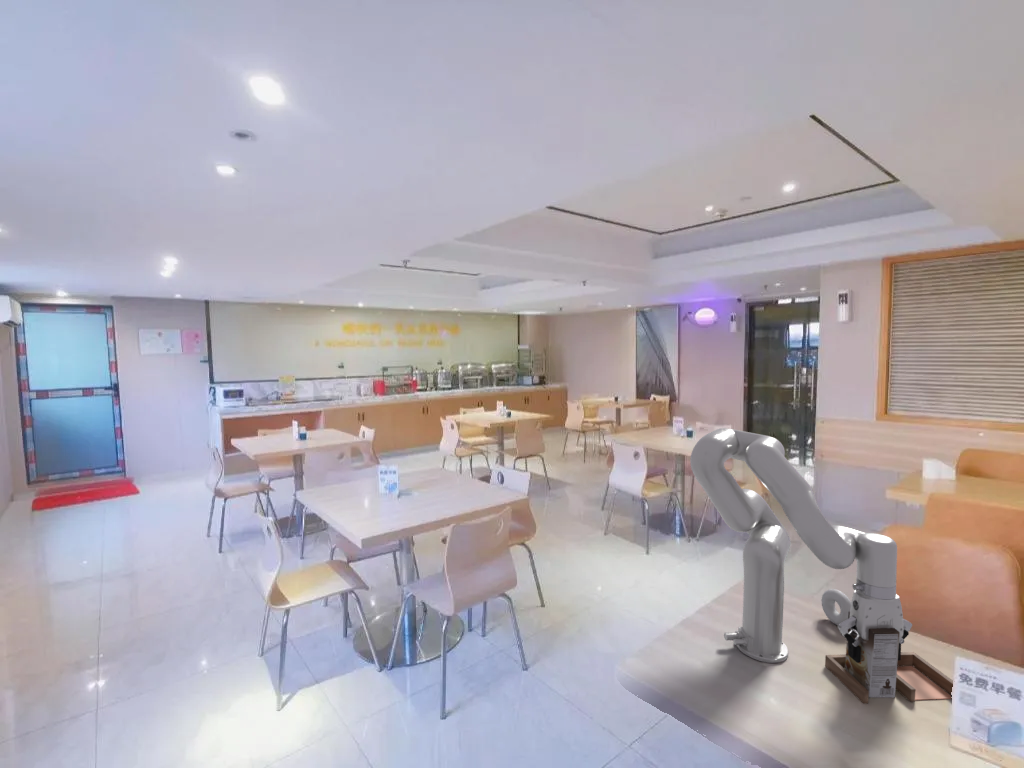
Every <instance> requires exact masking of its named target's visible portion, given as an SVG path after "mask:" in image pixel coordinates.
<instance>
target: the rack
mask: <svg viewBox="0 0 1024 768" xmlns="http://www.w3.org/2000/svg"><path fill="white" fill-rule="evenodd" d="M845 662H846V653H844V654H826V655H825V659H824V666H825V668H826V669H827V670H828V671H829V672H830V673H831V674H832V675H833V676H835V678H836V679H838V680H839V681H840V683H842V684H843V685H844V687H846V689H848V690H849V691H850V693H852V694H853V695H854V696H855V697H856V698H857V699H858V700H859V701H860V702H861V703H863V704H864V705H865V704H866V705H867V704H869V697H868V696H869V691H868V690H867V689H866V688H865V687H864V686H863V685H862V684H860V683H859V682H858V681H857V680H856V679H855V678H854V677H853V676H852V675H851V674H850V673H849V672H847V671H846V670H845ZM953 681H954V680H953V679H951V678H950V677H948V676H947V675H946V674H944V673H943V672H942V671H941V670H939V669H938V668H936V667H935V666H934V665H932V664H931V663H930V662H928V661H926V659H924V658H923V657H921V656H920V655H919V654H917V653H916V652H915V651H903V652H902V651H901V660H898V662H897V675H896V688H895V691H897V692H898V693H900V694H901V695H902V696H903V697H904V698H905V699H906V700H908V701H909V702H910V703H915V702H916V701H928V700H929V701H931V700H932V701H933V700H934V701H935V700H936V699H937V700H952V699H951V692H952V687H953Z"/></svg>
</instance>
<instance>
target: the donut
mask: <svg viewBox="0 0 1024 768" xmlns="http://www.w3.org/2000/svg"><path fill="white" fill-rule="evenodd" d="M821 596H822V597H821V600H820V601H821V606H822V611H823V613H824V615H825V616H826V618H828V620H829V621H830V622H831V623H833V624H835V625H837V626H838V624H840V623H842V622H843V621H845V620H847V619H848V612H849V611H850V607H851V601H852V600H851V599H850V598H849V597H848V595H847V594H845V592H843V591H841V590H839V589H837V588H828V589H827V590H825V591H824V592H823V594H822V595H821ZM835 603H837V604H838V607H839V609H840V612H839V611H838V610H837V607H836V604H835Z"/></svg>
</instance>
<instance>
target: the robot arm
mask: <svg viewBox="0 0 1024 768" xmlns="http://www.w3.org/2000/svg"><path fill="white" fill-rule="evenodd" d="M785 456H786V450H785V447H784V445H783V444H782V442H781V441H780V440H779V439H777V438H776V437H772V436H770V435H765V434H759V433H754V432H750V431H749V432H748V431H745V430H739V429H733V428H726V427H724V428H723V427H722V428H717V429H715V430H713V431H711V432H709V433H707V434H705V435H703V436H702V437H701V438H700V439H699V440H697V442H696V444H695V445H694V446H693V448H692V450H691V453H690V457H689V459H690V460H689V462H690V469H691V472H692V474H693V476H694V477H695V480H696V481H697V482H698V484H699V485H700V486H701V488H702V489H703V491H704V492H705V493H706V496H707V497H708V500H710V502H711V503H712V505H713V506H714V508H715V509H716V511H717V512H718V513H719V515H720V516H721V518H722V520H723V521H724V523H725V524H726V526H728V527H729V529H731V530H732V531H734V532H737V533H739V534H740V533H741V534H742V533H747V535H748V538H747V540H746V541H745V543H744V546H743V550H742V564H743V597H742V600H743V601H742V602H743V603H742V624H741V626H738V627H737V628H738V629H737V630H735V632H729V631H728V632H724V633H723V637H724V640H725V641H733V642H732V643H733V645H735V646H736V647H737V649H738V650H739V651H740V652H742V654H744V655H745V656H747V657H749V658H751V659H753V660H756V661H759V662H764V663H771V664H775V663H781V662H784V661H786V660H787V659H788V657H789V648H788V646H787V645H786V644H785V642H783V627H784V626H783V622H784V621H783V620H784V603H785V602H784V600H785V599H784V598H785V597H784V596H785V565H786V564H785V562H786V558H787V556H788V554H789V551H790V550H791V549H790V548H791V544H792V543H791V542H792V541H791V538H790V537H791V536H790V535H789V533H788V530H787V529H786V528H785V526H784V525H783V524H782V522H781V521H780V519H779V517H777V515H776V514H775V513H774V511H773V510H772V508H771V507H770V505H769V504H768V502H767V500H765V498H763V497H762V495H760V494H759V493H758V492H756V491H755V490H752V489H749V488H741V486H740V484H739V483H738V482H737V480H736V479H735V477H734V476H733V474H731V472H729V471H728V469H726V466H725V462H726V461H728V460H729V459H733V460H737V461H742V462H744V463H745V464H746V465H747V467H748V468H749V469H750V470H751V472H752V473H753V474H754V475H755V477H756V478H757V479H758V480H759V481H760V482H761V484H762V485H763V486H764V487H765V489H767V491H768V492H769V493H770V494H771V495H772V496H773V498H774V499H775V500H776V501H777V502H778V504H779V505H780V507H781V508H782V511H783V513H784V514H785V517H786V518H787V519H788V521H789V522H790V524H791V526H792V527H793V529H794V530H795V532H796V533H797V535H798V536H799V538H800V539H801V540H802V542H803V543H804V544H805V545H806V546H807V548H808V549H809V550H810V551H811V553H812V554H813V555H814V556H815V557H816V558H817V559H818V560H819V561H820V562H822V564H823V565H825V566H827V567H829V568H831V569H835V570H844V569H847V568H849V567H850V566H852V565H853V563H854V562H855V561H856V579H855V580H856V581H855V583H853V584H852V589H853V594H852V596H851V600H850V601H851V607H850V618H849V619H847V620H845V621H843V622H842V623H840V624H838V625H837V629H838V631H839V633H840V635H841V636H842V637H843V638H845V640H846V641H847V640H848V655H849V656H850V657H851V658H852V659H853V660H854V661H856V662H857V663H860V662H861V647H860V646H859V644H860V642H861V641H862V640H863V639H864V640H868V636H869V629H874V628H895V629H896V630H897V631H899V632H900V635H899V648H898V660H901V652H902V645H903V644H905V639H906V638H907V637H908V636H909V634H910V631H911V629H912V627H913V623H912V622H911V621H909V620H907V619H905V618H904V616H903V615H904V614H903V608H902V607H903V606H902V603H901V599H900V596H899V595H898V594H897V567H898V565H897V564H898V545H897V542H896V541H895V540H894V539H893V538H891V537H889V536H887V535H883V534H880V533H875V532H874V533H873V532H864V531H860V530H856V529H853V528H850V527H848V526H847V527H846V526H843V525H838V524H836V525H835V524H833V525H831V524H830V522H829V521H828V520H827V519H826V516H825V515H824V514H823V512H822V510H821V509H820V506H819V505H818V502H817V498H816V495H815V493H814V491H813V489H812V487H811V485H810V484H809V482H808V481H806V479H805V478H804V477H803V476H802V475H801V474H800V473H799V471H798V470H797V469H796V468H795V467H794V466H793V464H792V463H790V461H789V460H788V459H787V458H786V457H785ZM849 628H850V629H851V630H850V632H849V633H848V629H849ZM857 630H858V631H857ZM856 634H858V635H857V637H856V638H855V639H854V638H853V637H854V636H855V635H856Z"/></svg>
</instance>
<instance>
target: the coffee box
mask: <svg viewBox="0 0 1024 768" xmlns="http://www.w3.org/2000/svg"><path fill="white" fill-rule="evenodd" d="M849 618H850V611H849V612H848V619H849ZM850 630H851V629H850V628H849V629H848V633H849V632H850ZM857 631H858V630H857ZM857 635H858V634H856V635H855V636H854V637H853V638H854V639H855V638H856V637H857ZM899 635H900V632H899V631H897V630H896V629H895V628H874V629H869V636H868V640H864V639H863V640H862V641H861V642H860V644H859V646H860V647H861V662H860V663H857V662H856V661H854V660H853V659H852V658H851V657H850V656H849V655H848V640H846V648H845V649H846V650H845V654H846V662H845V668H844V669H845V670H846V671H847V672H849V673H850V674H851V675H852V676H853V677H854V678H855V679H856V680H857V681H858V682H859V683H860V684H862V685H863V686H864V687H865V688H866V689H867V690H868V691H869V696H868V698H895V697H896V689H895V688H896V675H897V667H898V666H897V662H898V648H899Z"/></svg>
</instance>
